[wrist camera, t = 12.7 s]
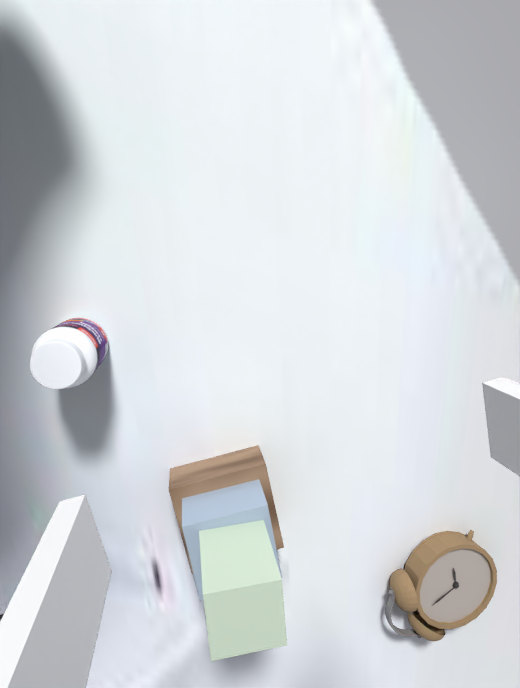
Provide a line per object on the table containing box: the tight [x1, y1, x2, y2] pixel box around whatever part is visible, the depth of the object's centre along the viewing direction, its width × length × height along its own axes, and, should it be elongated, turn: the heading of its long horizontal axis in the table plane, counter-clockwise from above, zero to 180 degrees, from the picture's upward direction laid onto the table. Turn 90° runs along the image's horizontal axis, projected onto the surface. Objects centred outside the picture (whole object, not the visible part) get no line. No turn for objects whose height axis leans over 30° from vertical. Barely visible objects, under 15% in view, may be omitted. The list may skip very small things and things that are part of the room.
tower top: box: [182, 479, 282, 601], centre depth 46 cm, size 8×8×5 cm
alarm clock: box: [385, 530, 497, 641], centre depth 58 cm, size 11×5×15 cm
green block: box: [199, 520, 287, 661], centre depth 39 cm, size 6×6×8 cm
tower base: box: [169, 446, 284, 574], centre depth 50 cm, size 10×10×5 cm
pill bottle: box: [30, 318, 108, 389], centre depth 42 cm, size 5×5×10 cm
